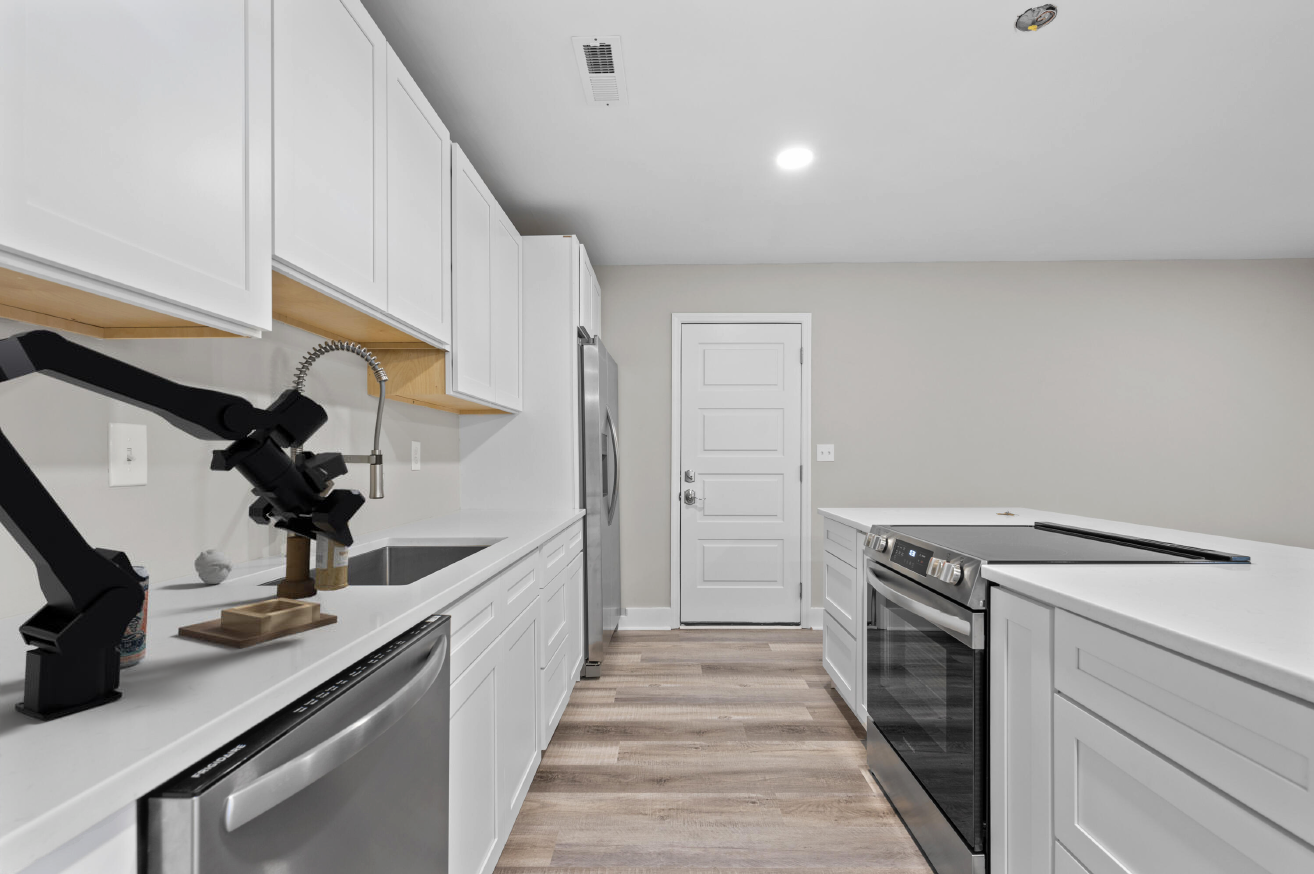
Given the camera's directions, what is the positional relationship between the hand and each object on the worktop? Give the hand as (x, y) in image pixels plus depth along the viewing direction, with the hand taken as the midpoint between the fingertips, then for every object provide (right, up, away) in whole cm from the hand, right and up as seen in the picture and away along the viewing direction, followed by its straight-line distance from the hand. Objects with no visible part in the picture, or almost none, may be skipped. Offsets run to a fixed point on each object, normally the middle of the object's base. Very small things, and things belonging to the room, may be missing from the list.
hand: (340, 543), depth 93 cm
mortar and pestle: (-20, -14, +22) cm, 33 cm away
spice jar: (-1, -7, -2) cm, 7 cm away
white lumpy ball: (-42, -14, +31) cm, 54 cm away
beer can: (-19, -13, -16) cm, 28 cm away
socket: (-12, -13, 0) cm, 18 cm away
